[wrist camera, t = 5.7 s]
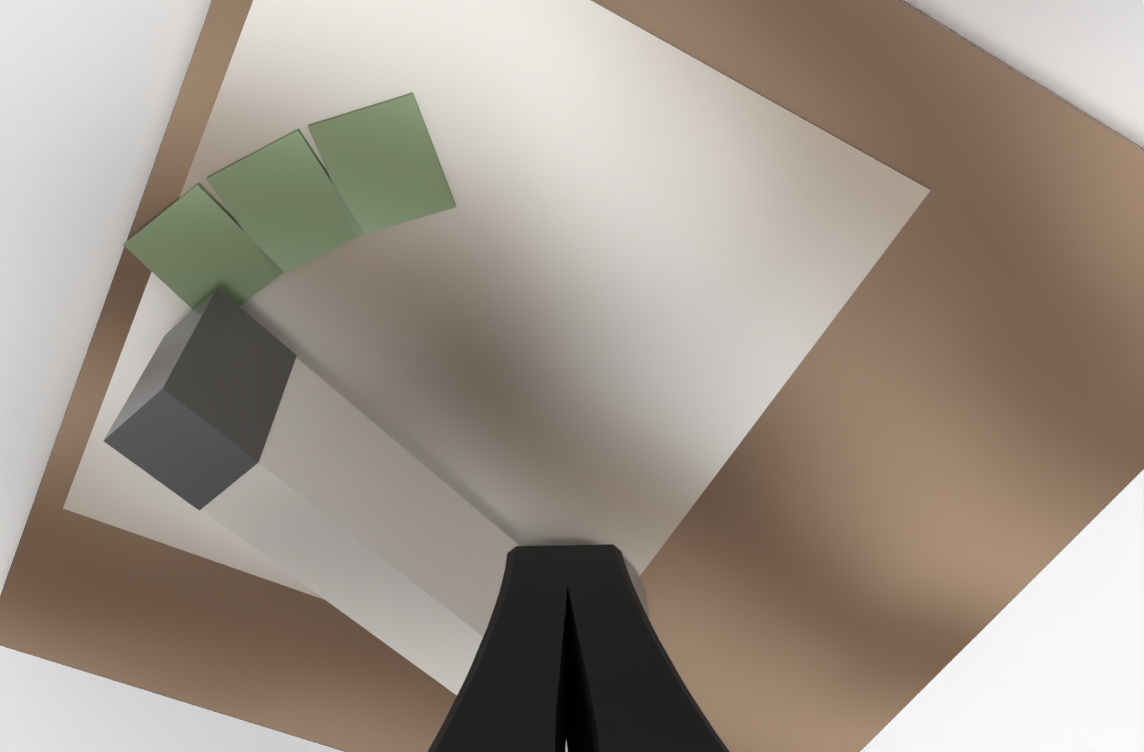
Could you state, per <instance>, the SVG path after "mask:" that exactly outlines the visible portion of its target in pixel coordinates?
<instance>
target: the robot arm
mask: <svg viewBox="0 0 1144 752" xmlns="http://www.w3.org/2000/svg"><path fill="white" fill-rule="evenodd" d="M566 741H567V749H568V752H730V751H729V750H728V749H727V747H726V746H725V744H724V743H723V742H722V740H721V739H720V737H719V736H718V734H717V733H716V732H715V730H714V729H713V727H712V726H711V724H710V723H709V721H708V720H707V718H706V717H705V715H704V714H703V712H702V710H701V709H700V707H699V706H698V704H697V703H696V701H695V700H694V698H693V697H692V695H691V693H690V692H689V690H688V689H687V687H686V685H685V684H684V682H683V680H682V679H681V677H680V675H679V674H678V672H677V670H676V668H675V667H674V665H673V663H672V661H671V659H670V658H669V656H668V654H667V652H666V651H665V649H664V647H663V645H662V643H661V642H660V640H659V638H658V636H657V634H656V632H655V630H654V628H653V627H652V625H651V623H650V621H649V618H648V616H647V614H646V612H645V610H644V608H643V606H642V604H641V602H640V600H639V597H638V595H637V593H636V590H635V588H634V586H633V583H632V581H631V578H630V576H629V573H628V570H627V568H626V565H625V562H624V559H623V555H622V552H621V551H620V550H619V549H618V548H617V547H616V546H615V545H613V544H607V545H550V546H516V547H514V548H513V549H512V550H511V551H509V552H508V553H507V558H506V566H505V571H504V575H503V580H502V584H501V587H500V591H499V594H498V597H497V601H496V604H495V607H494V609H493V612H492V615H491V618H490V621H489V624H488V626H487V629H486V631H485V634H484V636H483V639H482V641H481V643H480V646H479V648H478V651H477V653H476V656H475V658H474V660H473V663H472V665H471V668H470V670H469V672H468V674H467V676H466V679H465V681H464V683H463V685H462V687H461V689H460V691H459V693H458V695H457V697H456V699H455V701H454V703H453V705H452V707H451V709H450V711H449V713H448V715H447V717H446V719H445V721H444V723H443V724H442V726H441V728H440V730H439V732H438V734H437V736H436V737H435V739H434V741H433V743H432V744H431V746H430V748H429V750H428V752H565V748H566Z"/></svg>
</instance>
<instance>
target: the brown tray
mask: <svg viewBox="0 0 1144 752" xmlns="http://www.w3.org/2000/svg"><path fill="white" fill-rule="evenodd" d="M124 246H125V247H124V250H123V253H122V255H121V258H120V261H119V264H118V267H117V269H116V272H115V275H114V278H113V281H112V283H111V286H110V289H109V292H108V295H107V298H106V300H105V303H104V306H103V309H102V312H101V314H100V317H99V320H98V323H97V326H96V328H95V331H94V334H93V337H92V340H91V343H90V345H89V348H88V351H87V354H86V357H85V359H84V362H83V365H82V368H81V371H80V373H79V376H78V379H77V382H76V385H75V388H74V390H73V393H72V396H71V399H70V402H69V404H68V407H67V410H66V413H65V416H64V418H63V421H62V424H61V427H60V430H59V433H58V435H57V438H56V441H55V444H54V447H53V449H52V452H51V455H50V458H49V461H48V463H47V466H46V469H45V472H44V475H43V478H42V480H41V483H40V486H39V489H38V492H37V494H36V497H35V500H34V503H33V506H32V508H31V511H30V514H29V517H28V520H27V523H26V525H25V528H24V531H23V534H22V537H21V539H20V542H19V545H18V548H17V551H16V553H15V556H14V559H13V562H12V565H11V568H10V570H9V573H8V576H7V579H6V582H5V584H4V587H3V590H2V593H1V596H0V645H1V646H4V647H7V648H10V649H14V650H17V651H20V652H23V653H27V654H30V655H33V656H36V657H40V658H43V659H46V660H49V661H53V662H56V663H59V664H62V665H66V666H69V667H72V668H75V669H79V670H82V671H85V672H88V673H92V674H95V675H98V676H101V677H105V678H108V679H111V680H114V681H117V682H121V683H124V684H127V685H130V686H134V687H137V688H140V689H143V690H147V691H150V692H153V693H156V694H160V695H163V696H166V697H169V698H173V699H176V700H179V701H182V702H186V703H189V704H192V705H195V706H199V707H202V708H205V709H208V710H212V711H215V712H218V713H221V714H225V715H228V716H231V717H234V718H237V719H241V720H244V721H247V722H250V723H254V724H257V725H260V726H263V727H267V728H270V729H273V730H276V731H280V732H283V733H286V734H289V735H293V736H296V737H299V738H302V739H306V740H309V741H312V742H315V743H319V744H322V745H325V746H328V747H332V748H335V749H338V750H341V751H345V752H428V750H429V748H430V746H431V744H432V743H433V741H434V739H435V737H436V736H437V734H438V732H439V730H440V728H441V726H442V724H443V723H444V721H445V719H446V717H447V715H448V713H449V711H450V709H451V707H452V705H453V703H454V701H455V699H456V697H457V695H455V694H454V693H453V692H451V691H450V690H449V689H447V688H446V687H444V686H443V685H442V684H440V683H439V682H438V681H436V680H435V679H433V678H432V677H431V676H429V675H428V674H427V673H425V672H424V671H422V670H421V669H420V668H418V667H417V666H416V665H414V664H413V663H411V662H410V661H409V660H407V659H406V658H405V657H403V656H402V655H400V654H399V653H398V652H396V651H395V650H394V649H392V648H391V647H389V646H388V645H387V644H385V643H384V642H383V641H381V640H380V639H378V638H377V637H376V636H374V635H373V634H372V633H370V632H369V631H367V630H366V629H365V628H363V627H362V626H361V625H359V624H358V623H356V622H355V621H354V620H352V619H351V618H350V617H348V616H347V615H345V614H344V613H343V612H341V611H340V610H339V609H337V608H336V607H334V606H333V605H332V604H330V603H329V602H328V601H326V600H325V599H323V598H322V597H321V596H319V595H318V594H317V593H315V592H314V591H312V590H311V589H310V588H308V587H307V586H306V585H304V584H303V583H301V582H300V581H299V580H297V579H296V578H295V577H293V576H292V575H290V574H289V573H288V572H286V571H285V570H284V569H282V568H281V567H279V566H278V565H277V564H275V563H274V562H273V561H271V560H270V559H268V558H267V557H266V556H264V555H263V554H262V553H260V552H259V551H257V550H256V549H255V548H253V547H252V546H251V545H249V544H248V543H246V542H245V541H244V540H242V539H241V538H240V537H238V536H237V535H235V534H234V533H233V532H231V531H230V530H229V529H227V528H226V527H225V526H223V525H222V524H220V523H219V522H218V521H216V520H215V519H214V518H212V517H211V516H209V515H208V514H207V513H205V512H204V511H203V510H200V511H199V510H198V509H196V508H195V507H193V506H192V505H191V504H189V503H188V502H187V501H185V500H184V499H182V498H181V497H180V496H178V495H177V494H176V493H174V492H173V491H171V490H170V489H169V488H167V487H166V486H164V485H163V484H162V483H160V482H159V481H158V480H156V479H155V478H153V477H152V476H151V475H149V474H148V473H147V472H145V471H144V470H142V469H141V468H140V467H138V466H137V465H136V464H134V463H133V462H131V461H130V460H129V459H127V458H126V457H125V456H123V455H122V454H120V453H119V452H118V451H116V450H115V449H114V448H112V447H111V446H109V445H108V444H107V443H105V442H104V441H103V440H104V439H105V437H106V435H107V433H108V432H109V430H110V428H111V427H112V425H113V423H114V421H115V420H116V418H117V416H118V415H119V413H120V411H121V409H122V408H123V406H124V404H125V403H126V401H127V399H128V397H129V396H130V394H131V392H132V391H133V389H134V387H135V385H136V384H137V382H138V380H139V379H140V377H141V375H142V373H143V372H144V370H145V368H146V367H147V365H148V363H149V362H150V360H151V358H152V356H153V355H154V353H155V351H156V350H157V348H158V346H159V344H160V343H161V341H162V339H163V338H164V336H165V335H166V334H167V333H168V332H169V331H170V330H171V329H172V328H173V327H174V326H176V325H177V324H178V323H179V322H180V321H181V320H182V319H183V318H184V317H185V316H187V315H188V314H189V313H190V312H191V311H192V310H193V309H194V308H195V307H196V306H198V305H199V304H200V303H201V302H202V301H203V300H204V299H205V298H206V297H207V296H209V295H210V294H211V293H212V292H213V291H214V290H215V289H216V288H218V289H219V290H220V291H221V292H222V293H224V294H225V295H226V296H227V297H228V298H229V299H231V300H232V301H233V302H234V303H235V304H237V305H238V306H239V307H240V308H241V309H242V310H244V311H245V312H246V313H247V314H248V315H250V316H251V317H252V318H253V319H254V320H255V321H257V322H258V323H259V324H260V325H261V326H263V327H264V328H265V329H266V330H267V331H269V332H270V333H271V334H272V335H273V336H274V337H276V338H277V339H278V340H279V341H280V342H282V343H283V344H284V345H285V346H286V347H287V348H289V349H290V350H291V351H292V352H293V353H295V354H296V355H297V356H296V357H297V358H298V359H299V360H300V361H301V362H302V363H304V364H305V365H306V366H307V367H308V368H310V369H311V370H312V371H313V372H314V373H316V374H317V375H318V376H319V377H320V378H321V379H323V380H324V381H325V382H326V383H327V384H329V385H330V386H331V387H332V388H333V389H335V390H336V391H337V392H338V393H339V394H340V395H342V396H343V397H344V398H345V399H346V400H348V401H349V402H350V403H351V404H352V405H353V406H355V407H356V408H357V409H358V410H359V411H361V412H362V413H363V414H364V415H365V416H367V417H368V418H369V419H370V420H371V421H372V422H374V423H375V424H376V425H377V426H378V427H380V428H381V429H382V430H383V431H384V432H385V433H387V434H388V435H389V436H390V437H391V438H393V439H394V440H395V441H396V442H397V443H399V444H400V445H401V446H402V447H403V448H404V449H406V450H407V451H408V452H409V453H410V454H412V455H413V456H414V457H415V458H416V459H417V460H419V461H420V462H421V463H422V464H423V465H425V466H426V467H427V468H428V469H429V470H431V471H432V472H433V473H434V474H435V475H436V476H438V477H439V478H440V479H441V480H442V481H444V482H445V483H446V484H447V485H448V486H449V487H451V488H452V489H453V490H454V491H455V492H457V493H458V494H459V495H460V496H461V497H463V498H464V499H465V500H466V501H467V502H468V503H470V504H471V505H472V506H473V507H474V508H476V509H477V510H478V511H479V512H480V513H481V514H483V515H484V516H485V517H486V518H487V519H489V520H490V521H491V522H492V523H493V524H495V525H496V526H497V527H498V528H499V529H500V530H502V531H503V532H504V533H505V534H506V535H508V536H509V537H510V538H511V539H512V540H513V541H515V542H516V543H517V544H518V545H519V546H548V545H557V544H574V545H607V544H613V545H615V546H616V547H617V548H618V549H619V550H620V551H621V552H622V555H623V559H624V562H625V563H626V564H627V565H629V566H630V567H631V568H632V569H633V570H634V571H635V573H636V574H637V575H638V577H639V578H640V580H641V582H642V584H643V586H644V589H645V592H646V596H647V603H648V610H649V618H650V623H651V625H652V627H653V628H654V630H655V632H656V634H657V636H658V638H659V640H660V642H661V643H662V645H663V647H664V649H665V651H666V652H667V654H668V656H669V658H670V659H671V661H672V663H673V665H674V667H675V668H676V670H677V672H678V674H679V675H680V677H681V679H682V680H683V682H684V684H685V685H686V687H687V689H688V690H689V692H690V693H691V695H692V697H693V698H694V700H695V701H696V703H697V704H698V706H699V707H700V709H701V710H702V712H703V714H704V715H705V717H706V718H707V720H708V721H709V723H710V724H711V726H712V727H713V729H714V730H715V732H716V733H717V734H718V736H719V737H720V739H721V740H722V742H723V743H724V744H725V746H726V747H727V749H728V750H729V751H730V752H860V751H861V750H862V749H863V748H864V747H865V746H866V745H867V744H868V743H869V742H870V741H871V740H872V739H873V738H874V737H875V736H876V735H877V734H878V733H879V732H880V731H881V730H882V729H883V728H884V727H885V726H886V725H887V724H888V723H889V722H890V721H891V720H892V719H893V718H894V717H895V716H896V715H897V714H898V713H899V712H900V711H901V710H902V709H903V708H904V707H905V706H906V705H907V704H908V703H909V702H910V701H911V700H912V699H913V698H914V697H915V696H916V695H917V694H918V693H919V692H920V691H921V690H922V689H923V688H924V687H925V686H926V685H927V684H928V683H929V682H930V681H931V680H932V679H933V678H934V677H935V676H936V675H937V674H938V673H939V672H940V671H941V670H942V669H943V668H944V667H945V666H946V665H947V664H948V663H949V662H950V661H951V660H952V659H953V658H954V657H955V656H956V655H957V654H958V653H959V652H960V651H961V650H962V649H963V648H964V647H965V646H966V645H967V644H968V643H969V642H970V641H971V640H972V639H973V638H974V637H976V636H977V635H978V634H979V633H980V632H981V631H982V630H983V629H984V628H985V627H986V626H987V625H988V624H989V623H990V622H991V621H992V620H993V619H994V618H995V617H996V616H997V615H998V614H999V613H1000V612H1001V611H1002V610H1003V609H1004V608H1005V607H1006V606H1007V605H1008V604H1009V603H1010V602H1011V601H1012V600H1013V599H1014V598H1015V597H1016V596H1017V595H1018V594H1019V593H1020V592H1021V591H1022V590H1023V589H1024V588H1025V587H1026V586H1027V585H1028V584H1029V583H1030V582H1031V581H1032V580H1033V579H1034V578H1035V577H1036V576H1037V575H1038V574H1039V573H1040V572H1041V571H1042V570H1043V569H1044V568H1045V567H1046V566H1047V565H1048V564H1049V563H1050V562H1051V561H1052V560H1053V559H1054V558H1055V557H1056V556H1057V555H1058V554H1059V553H1060V552H1061V551H1062V550H1063V549H1064V548H1065V547H1066V546H1067V545H1068V544H1069V543H1070V542H1071V541H1072V540H1073V539H1074V538H1075V537H1076V536H1077V535H1078V534H1079V533H1080V532H1081V531H1082V530H1083V529H1084V528H1085V527H1086V526H1087V525H1088V524H1089V523H1090V522H1091V521H1092V520H1093V519H1094V518H1095V517H1096V516H1097V515H1098V514H1099V513H1100V512H1101V511H1102V510H1103V509H1104V508H1105V507H1106V506H1107V505H1108V504H1109V503H1110V502H1111V501H1112V500H1113V499H1114V498H1115V497H1116V496H1117V495H1118V494H1119V493H1120V492H1121V491H1122V490H1123V489H1124V488H1125V487H1126V486H1127V485H1128V484H1129V483H1130V482H1131V481H1132V480H1133V479H1134V478H1135V477H1136V476H1137V475H1138V474H1139V473H1140V472H1141V471H1142V470H1143V469H1144V149H1143V148H1141V147H1140V146H1138V145H1136V144H1135V143H1133V142H1132V141H1130V140H1128V139H1127V138H1125V137H1123V136H1122V135H1120V134H1119V133H1117V132H1115V131H1114V130H1112V129H1111V128H1109V127H1107V126H1106V125H1104V124H1102V123H1101V122H1099V121H1098V120H1096V119H1094V118H1093V117H1091V116H1089V115H1088V114H1086V113H1085V112H1083V111H1081V110H1080V109H1078V108H1076V107H1075V106H1073V105H1072V104H1070V103H1068V102H1067V101H1065V100H1064V99H1062V98H1060V97H1059V96H1057V95H1055V94H1054V93H1052V92H1051V91H1049V90H1047V89H1046V88H1044V87H1042V86H1041V85H1039V84H1038V83H1036V82H1034V81H1033V80H1031V79H1029V78H1028V77H1026V76H1025V75H1023V74H1021V73H1020V72H1018V71H1017V70H1015V69H1013V68H1012V67H1010V66H1008V65H1007V64H1005V63H1004V62H1002V61H1000V60H999V59H997V58H995V57H994V56H992V55H991V54H989V53H987V52H986V51H984V50H982V49H981V48H979V47H978V46H976V45H974V44H973V43H971V42H970V41H968V40H966V39H965V38H963V37H961V36H960V35H958V34H957V33H955V32H953V31H952V30H950V29H948V28H947V27H945V26H944V25H942V24H940V23H939V22H937V21H935V20H934V19H932V18H931V17H929V16H927V15H926V14H924V13H923V12H921V11H919V10H918V9H916V8H914V7H913V6H911V5H910V4H908V3H906V2H905V1H903V0H212V2H211V5H210V8H209V11H208V13H207V16H206V19H205V22H204V25H203V28H202V30H201V33H200V36H199V39H198V42H197V44H196V47H195V50H194V53H193V56H192V58H191V61H190V64H189V67H188V70H187V73H186V75H185V78H184V81H183V84H182V87H181V89H180V92H179V95H178V98H177V101H176V103H175V106H174V109H173V112H172V115H171V118H170V120H169V123H168V126H167V129H166V132H165V134H164V137H163V140H162V143H161V146H160V148H159V151H158V154H157V157H156V160H155V163H154V165H153V168H152V171H151V174H150V177H149V179H148V182H147V185H146V188H145V191H144V193H143V196H142V199H141V202H140V205H139V208H138V210H137V213H136V216H135V219H134V222H133V224H132V227H131V230H130V233H129V236H128V238H127V241H126V242H125V244H124Z"/></svg>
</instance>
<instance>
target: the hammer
mask: <svg viewBox="0 0 1144 752" xmlns="http://www.w3.org/2000/svg"><path fill="white" fill-rule="evenodd" d="M296 356H297V355H296V354H295V353H293V352H292V351H291V350H290V349H289V348H287V347H286V346H285V345H284V344H283V343H282V342H280V341H279V340H278V339H277V338H276V337H274V336H273V335H272V334H271V333H270V332H269V331H267V330H266V329H265V328H264V327H263V326H261V325H260V324H259V323H258V322H257V321H255V320H254V319H253V318H252V317H251V316H250V315H248V314H247V313H246V312H245V311H244V310H242V309H241V308H240V307H239V306H238V305H237V304H235V303H234V302H233V301H232V300H231V299H229V298H228V297H227V296H226V295H225V294H224V293H222V292H221V291H220V290H219V289H218V288H216V289H215V290H214V291H213V292H212V293H211V294H210V295H209V296H207V297H206V298H205V299H204V300H203V301H202V302H201V303H200V304H199V305H198V306H196V307H195V308H194V309H193V310H192V311H191V312H190V313H189V314H188V315H187V316H185V317H184V318H183V319H182V320H181V321H180V322H179V323H178V324H177V325H176V326H174V327H173V328H172V329H171V330H170V331H169V332H168V333H167V334H166V335H165V336H164V338H163V339H162V341H161V343H160V344H159V346H158V348H157V350H156V351H155V353H154V355H153V356H152V358H151V360H150V362H149V363H148V365H147V367H146V368H145V370H144V372H143V373H142V375H141V377H140V379H139V380H138V382H137V384H136V385H135V387H134V389H133V391H132V392H131V394H130V396H129V397H128V399H127V401H126V403H125V404H124V406H123V408H122V409H121V411H120V413H119V415H118V416H117V418H116V420H115V421H114V423H113V425H112V427H111V428H110V430H109V432H108V433H107V435H106V437H105V439H104V440H103V441H104V442H105V443H107V444H108V445H109V446H111V447H112V448H114V449H115V450H116V451H118V452H119V453H120V454H122V455H123V456H125V457H126V458H127V459H129V460H130V461H131V462H133V463H134V464H136V465H137V466H138V467H140V468H141V469H142V470H144V471H145V472H147V473H148V474H149V475H151V476H152V477H153V478H155V479H156V480H158V481H159V482H160V483H162V484H163V485H164V486H166V487H167V488H169V489H170V490H171V491H173V492H174V493H176V494H177V495H178V496H180V497H181V498H182V499H184V500H185V501H187V502H188V503H189V504H191V505H192V506H193V507H195V508H196V509H198V510H199V511H200V510H203V511H204V512H205V513H207V514H208V515H209V516H211V517H212V518H214V519H215V520H216V521H218V522H219V523H220V524H222V525H223V526H225V527H226V528H227V529H229V530H230V531H231V532H233V533H234V534H235V535H237V536H238V537H240V538H241V539H242V540H244V541H245V542H246V543H248V544H249V545H251V546H252V547H253V548H255V549H256V550H257V551H259V552H260V553H262V554H263V555H264V556H266V557H267V558H268V559H270V560H271V561H273V562H274V563H275V564H277V565H278V566H279V567H281V568H282V569H284V570H285V571H286V572H288V573H289V574H290V575H292V576H293V577H295V578H296V579H297V580H299V581H300V582H301V583H303V584H304V585H306V586H307V587H308V588H310V589H311V590H312V591H314V592H315V593H317V594H318V595H319V596H321V597H322V598H323V599H325V600H326V601H328V602H329V603H330V604H332V605H333V606H334V607H336V608H337V609H339V610H340V611H341V612H343V613H344V614H345V615H347V616H348V617H350V618H351V619H352V620H354V621H355V622H356V623H358V624H359V625H361V626H362V627H363V628H365V629H366V630H367V631H369V632H370V633H372V634H373V635H374V636H376V637H377V638H378V639H380V640H381V641H383V642H384V643H385V644H387V645H388V646H389V647H391V648H392V649H394V650H395V651H396V652H398V653H399V654H400V655H402V656H403V657H405V658H406V659H407V660H409V661H410V662H411V663H413V664H414V665H416V666H417V667H418V668H420V669H421V670H422V671H424V672H425V673H427V674H428V675H429V676H431V677H432V678H433V679H435V680H436V681H438V682H439V683H440V684H442V685H443V686H444V687H446V688H447V689H449V690H450V691H451V692H453V693H454V694H455V695H458V693H459V691H460V689H461V687H462V685H463V683H464V681H465V679H466V676H467V674H468V672H469V670H470V668H471V665H472V663H473V660H474V658H475V656H476V653H477V651H478V648H479V646H480V643H481V641H482V639H483V636H484V634H485V631H486V629H487V626H488V624H489V621H490V618H491V615H492V612H493V609H494V607H495V604H496V601H497V597H498V594H499V591H500V587H501V584H502V580H503V575H504V571H505V566H506V558H507V553H508V552H509V551H511V550H512V549H513V548H514V547H516V546H519V545H518V544H517V543H516V542H515V541H513V540H512V539H511V538H510V537H509V536H508V535H506V534H505V533H504V532H503V531H502V530H500V529H499V528H498V527H497V526H496V525H495V524H493V523H492V522H491V521H490V520H489V519H487V518H486V517H485V516H484V515H483V514H481V513H480V512H479V511H478V510H477V509H476V508H474V507H473V506H472V505H471V504H470V503H468V502H467V501H466V500H465V499H464V498H463V497H461V496H460V495H459V494H458V493H457V492H455V491H454V490H453V489H452V488H451V487H449V486H448V485H447V484H446V483H445V482H444V481H442V480H441V479H440V478H439V477H438V476H436V475H435V474H434V473H433V472H432V471H431V470H429V469H428V468H427V467H426V466H425V465H423V464H422V463H421V462H420V461H419V460H417V459H416V458H415V457H414V456H413V455H412V454H410V453H409V452H408V451H407V450H406V449H404V448H403V447H402V446H401V445H400V444H399V443H397V442H396V441H395V440H394V439H393V438H391V437H390V436H389V435H388V434H387V433H385V432H384V431H383V430H382V429H381V428H380V427H378V426H377V425H376V424H375V423H374V422H372V421H371V420H370V419H369V418H368V417H367V416H365V415H364V414H363V413H362V412H361V411H359V410H358V409H357V408H356V407H355V406H353V405H352V404H351V403H350V402H349V401H348V400H346V399H345V398H344V397H343V396H342V395H340V394H339V393H338V392H337V391H336V390H335V389H333V388H332V387H331V386H330V385H329V384H327V383H326V382H325V381H324V380H323V379H321V378H320V377H319V376H318V375H317V374H316V373H314V372H313V371H312V370H311V369H310V368H308V367H307V366H306V365H305V364H304V363H302V362H301V361H300V360H299V359H298V358H297V357H296ZM557 545H574V544H557ZM548 546H550V545H548ZM625 565H626V568H627V570H628V573H629V576H630V578H631V581H632V583H633V586H634V588H635V590H636V593H637V595H638V597H639V600H640V602H641V604H642V606H643V608H644V610H645V612H646V614H647V616H648V618H649V610H648V603H647V596H646V592H645V589H644V586H643V584H642V582H641V580H640V578H639V577H638V575H637V574H636V573H635V571H634V570H633V569H632V568H631V567H630V566H629V565H627V564H626V563H625ZM649 621H650V618H649ZM565 752H568V749H567V741H566V748H565Z"/></svg>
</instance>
